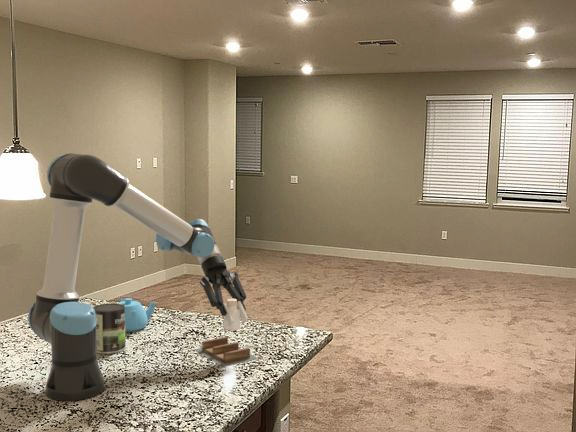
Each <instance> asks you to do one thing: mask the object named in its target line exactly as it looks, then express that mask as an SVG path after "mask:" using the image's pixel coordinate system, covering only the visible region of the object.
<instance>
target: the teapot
mask: <svg viewBox="0 0 576 432" xmlns="http://www.w3.org/2000/svg"><path fill="white" fill-rule="evenodd" d="M116 304H122V305H124V306H125V333H130V332H137V331H141V330H143V329H144V328H145V327H146V326H147V325H148V323H149V321H150V320H151V317H152V315H153V313H154V311H155V308H156V306H157V302H156V301H155V302H154V301H153V302H152V301H151V302H150V304H149V306H148V307H147V309H146V310H145V308H144V306H143V305H142V304H141V302H140V301H137V300H133V298H131V297H127V298H120V301H119V302H117V303H116Z"/></svg>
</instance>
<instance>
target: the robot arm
mask: <svg viewBox="0 0 576 432" xmlns="http://www.w3.org/2000/svg"><path fill="white" fill-rule="evenodd" d="M46 179H47V182H48V184H49V186H50V190H49V200H50V201H51V202H52V203H53V212H52V220H51V228H50V234H49V241H48V242H49V243H48V247H47V248H48V249H47V257H46V262H45V263H46V264H45V272H44V280H43V286H42V288H41V289H39V290H38V291H37V292H36V296H35V302H33V303H32V304H31V306H30V307H29V310H28V314H27V321H28V322H27V323H28V325H29V327H30V329H31V330H32V332H33V334H35V335H36V336H37V337H38V338H40V339H42V340H44V341H45V342H46V343H48V344H50V345H51V347H50V348H51V350H50V351H51V367H50V370H49V373H48V378H47V381H46V384H45V395H46V396H47V398H49V399H51V400H55V401H61V402H72V401H73V402H74V401H80V400H81V401H82V400H85V399H88V398H89V399H90V398H92V397H94V396H96V395H99V394H101V392H102V391H104V389H105V378H104V376H103V373H102V371H101V368H100V365H99V362H98V357H97V356H98V353H97V341H96V323H97V319H96V315H95V310H94V308H93V307H94V306H92V305H90V304H89V303H85V302H79V301H80V300H79V299H80V295H79V293H78V292H77V291H76V281H77V276H78V275H77V274H78V268H79V267H78V266H79V259H80V252H81V247H82V246H81V244H82V236H83V229H84V223H85V215H86V209H87V208H88V207H89V206H90V205H92V203H93V200H94V201H98V202H99V203H101V204H103V205H104V206H107V207H115V208H116V209H118V210H120V211H121V212H123V213H124V214H126V215H127V216H129V217H130V218H132V219H133V220H135V221H137V222H138V223H140V224H142V225H143V226H144V227H147V228H148V229H149V230H151V231H153V232H154V233H156V235H155V243H156V246H157V248H158V249H159V250H160V251H165V252H166V251H167V252H171V251H176V252H179V253H182V254H186V255H190V256H193V257H196V258H197V260H198V262H199V264H200V267H201V269H202V271H203V275H205V277H204V276H203V277H202V278H201V279H200V281H199V284H200V286H201V287H202V288H203V289H204V292H205V295H206V297H207V299H208V301H209V304H210V305H211V307H212V308H216V309H217V310H219V312H220V314H221V316H222V317H224V316H225V319H226V321H227V323H228V326H231V325H232V323H233V322H234V320H233V318H232V315H231V313H230V311H229V309H228V306H227V302H226V303H224V300H223V293H222V289H221V287H223V288H224V289H226V291H227V292H228V294H229V295H230V297H231V299H237V309H239V310H240V321H241V322H242V323H243V324H245V323H246V322H247V321H248V319H249V317H248V315H247V314H248V313H247V312H246V310H247V309H246V306H245V304H244V302H245V300H246V299H247V294H246V293H245V291H244V287H243V285H242V283H241V281H240V279H239V273H238V272H234V273H231V272H230V271H229V270H228V268H227V265H226V261H225V260H224V257H223V256H222V253H221V251H220V249H219V247H218V245H217V243H216V241H215V237H214V236H213V233H212V230H211V228H210V227H209V225H208V223H207V222H206V221H205V220H204V219H202V218H197V219H195V220H194V219H193V220H191V221H189V222H187V221H186V220H184V219H182V218H180V217H179V216H178V215H176V213H173V212H172V211H171V210H169V209H167V208H166V207H165V206H163V205H161V204H160V203H158V202H157V201H156V200H155V199H153V198H152V197H149V196H148V195H146V194H145V193H143V192H142V191H141V190H140V189H138V188H136V187H135V186H133V185H132V184H131V183H129V178H128V177H127V176H125V175H123V174H122V173H120V172H119V171H118V170H117V169H115V168H113V167H112V166H111V165H110V164H108V163H107V162H105V161H104V160H102V159H101V158H99V157H97V156H95V155H91V154H79V153H70V152H69V153H64V154H61V155H59V156H57V157H55V158H54V159H53V160H52V161H51V162H50V163H49V165H48V167H47V171H46Z"/></svg>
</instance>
